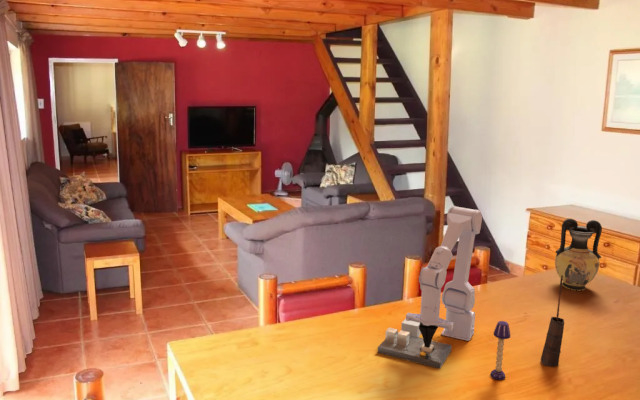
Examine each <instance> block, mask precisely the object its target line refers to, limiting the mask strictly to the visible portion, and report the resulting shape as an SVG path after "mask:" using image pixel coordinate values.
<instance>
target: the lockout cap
mask: <svg viewBox="0 0 640 400" xmlns="http://www.w3.org/2000/svg"><path fill="white" fill-rule="evenodd" d="M419 325H420V323H419V322H414V321H406V318H405V319H404V320H402V322H401V330H402V331H406V332H410V336H415V337H419V338H420V336H422V334H421V332H420V330H419Z"/></svg>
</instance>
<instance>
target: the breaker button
mask: <svg viewBox="0 0 640 400" xmlns="http://www.w3.org/2000/svg"><path fill="white" fill-rule="evenodd" d="M433 347H434V345H430V347H429V348H428V347H425V346H424V344H423V345H422V347H421V351H425V352H429V353H432V352H433Z"/></svg>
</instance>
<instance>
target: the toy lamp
mask: <svg viewBox="0 0 640 400" xmlns="http://www.w3.org/2000/svg"><path fill="white" fill-rule="evenodd" d="M493 337H495V338H497V348H496V350H497V351H496V357H495V358H496V359H495V360H496V361H495V369H492V371H490V375H489V376H490V378H491V379H494V380H498V381H503V380H505V379H506V374H505V372H504V371H503V370H502V369H503V367H502V366H503V359H504V358H503V355H504V345H505V340H508V339H511V331H510V324H509V323H508V322H507V321H505V320H504V321H503V320H499V321H497V323H496V326H495V328H494V331H493Z"/></svg>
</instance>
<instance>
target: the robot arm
mask: <svg viewBox="0 0 640 400" xmlns="http://www.w3.org/2000/svg"><path fill="white" fill-rule="evenodd" d="M482 221H483V215H482V213H481V211H480V210H479V209H472V208H468V207H467V208H466V207H461V206H460V207H459V206H456V205H452V206H451V207H449V208H448V211H447V214H446V223H447V228H446V230H445V233H444V235H443V239H442V242H441V245H440V246H437V247H436V248H435V249H434V250H433V253H432V255H431V256H430V257H431V258H430V259H429V261H428V263H427V265H426V266H425V267H423V268H421V270H420V273H419V277H418V282H419V285H420V286H419V287H420V288H419V289H420V290H421V298H420V299H421V300H420V313H411V312H407V313H406V314H405V319H406V321H414V322H419V323H420V325H419V330H420V332H421V336H422V337H421V338H423V340H424V346H425V347H428V348H429V347H430V345H431V341H433V338H434V335H435V334H436V332H437V330H438V328H442V329H443V330H442V332H441V333H440V334H441V336H446V337H449V338H454V339H458V340H463V341H468V342H469V341H471V338H473V335H474V333H475V321H476V313H475V312H474V311H472V310H473V308H474V306H475V303H476V302H475V301H476V297H475V295H476V289H475V288H474V287H473V286H472V285H471V284H470V282H469V278H470V277H469V276H470V271H471V265H472V264H471V263H472V257H473V250H474V244H475V238H476V235H478V234H480V233H481V232H480V231H481V228H482ZM457 243H458V244H457ZM456 244H457V250H456V251H457V252H456V258H455V264H454V269H453V270H454V272H453V276H452V280H450V281H448V282H446V277H447V274H448V273H447V269H448V267H449V265H450V263H451V261H452V258H453V257H454V255H453V253H452V250H453V248H454V247H455V246H456ZM444 284H445V285H444ZM443 287H444V289H443V291H442V288H443ZM441 302H442V304H443V305H444V308H445V309H446V313H445V319H444V318H441V317H440V308H441Z"/></svg>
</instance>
